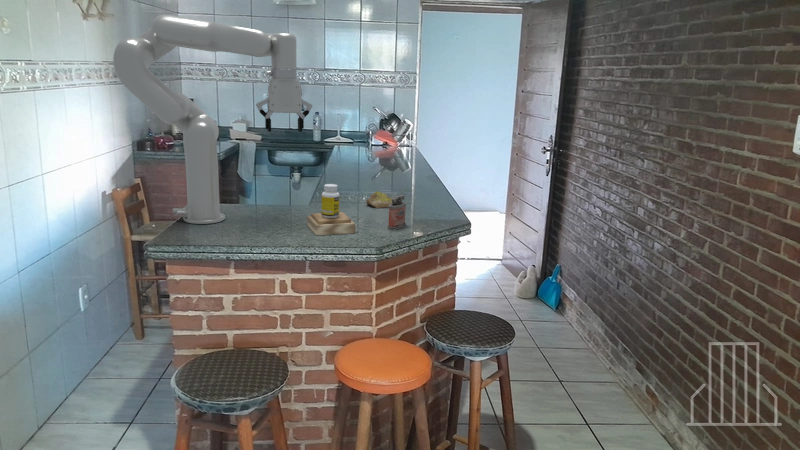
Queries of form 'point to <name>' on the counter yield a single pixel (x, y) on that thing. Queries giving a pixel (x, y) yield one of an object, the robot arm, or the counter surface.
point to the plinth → (330, 224)
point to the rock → (379, 200)
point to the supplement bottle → (330, 201)
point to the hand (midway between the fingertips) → (284, 131)
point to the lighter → (397, 213)
